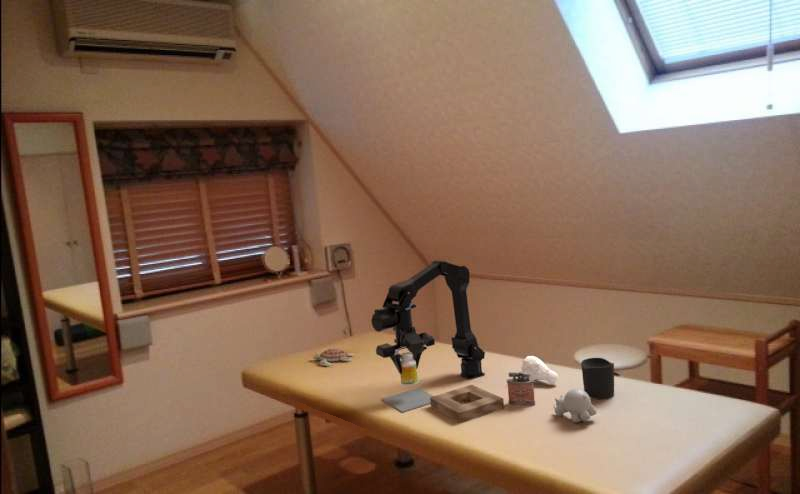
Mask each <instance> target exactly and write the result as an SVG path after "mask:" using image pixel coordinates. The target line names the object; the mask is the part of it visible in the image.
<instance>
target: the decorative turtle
mask: <svg viewBox="0 0 800 494" xmlns="http://www.w3.org/2000/svg"><path fill="white" fill-rule="evenodd" d="M349 356H355V353H354V352H347V351H345V350H343V349H339V348H328V349H326V350H323V351H322V352H321V353H315V354H314V355H313V357H312V358H313V359H314V360H315V361H319V364H320V365H321V366H325V367H326V366H331V365H332V363H331V362H339V361H346V362H348V361H351V360H352V358H351V357H349Z"/></svg>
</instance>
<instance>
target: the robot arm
mask: <svg viewBox="0 0 800 494" xmlns="http://www.w3.org/2000/svg"><path fill="white" fill-rule="evenodd" d="M439 276H442V277H444V280H445V284H446V285H447V287H448V288H449V290H450V291H451V297H452V303H453V304H452V305H453V312H454V319H455V320H454V321H455V330H456V333H455V335H454V336H452V337H451V338H450V339H451V342H452V346H451V348H452V349H453V351H454V353H455V354H456V357H457V358H459V359H460V361H461V363H460V370H461V372H460V373H459V375H460V376H461V377H465V378H466V379H468V380H472V379H476V378H478V377H483V376H485V374H486V373H485V372H483V367H482V360H484V359H485V354H486V352H485V351H484V350H483V349H482V348H481V347H480V346H479V344H478V343H479V342H478V339H477V336H475V334H474V333H473V331H472V328H471V319H470V313H469V312H470V311H469V301H468V295H467V294H468V293H467V289H468V287H469V285H470V270H469V268H468V267H467V266H465V265H459V264H458V265H457V264H452V263H450V262H448V261H445V260H440V259H439V260H438V259H435V260H433V261H431V263H430V264H429V265H427V266H426V267H425V268H423V269H421V270H420V271H418V272H417V273H416V274H414V275H412V276H411V277H410V278H408V279H406V280H402V281H398V282H396V283H393V284H392V285H391V286H389V288H388V293H387V294H386V297H385V299H384V301H383V304H382V308H376V309H374V313H372V317H371V320H370V322H371V324H372V328H373V329H374V331H375V332H377V333H378V332H379V333H380V332H384V331H386V330H390V329H392V330H393V331H394V333H395V339H393V340H394V341H393V342H394V343H395V344H394V345H393V344H389V343H383V344H378V345H377V346H376V348H375V352H376V355H377V356H379V357H381V358H383V359H388V358H390V360H391V362H393V364H394V367H395V368H396V370H397V372H398V374H402V368H401V354H400V353H399V351H401V350H404V349H407V351H408V352H410V353H413V359H414V360H415V361H416V368H417V369H418V368H419V364H420V360H421V356H422V354H423V352H424V351H425V350H427V349H428V347H431V346H435V345H436V341H435V337H434V336H433V335H431V334H428V333H427V332H420V333H417V331H416V328H415V326H414V325H413V316H412V315H413V314H412V309H414V308H416V307H417V305H416V304H415V303H413V302H412V301H413V300H414V299H415V297H417V294H418V292H419V291H420V290H421V289H423V287H426V286H427V285H428V284H430V283H431V282H433V281H434V280H436V278H438V277H439Z"/></svg>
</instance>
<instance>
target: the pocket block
mask: <svg viewBox="0 0 800 494" xmlns="http://www.w3.org/2000/svg"><path fill="white" fill-rule="evenodd" d="M466 402H467V403H466ZM504 402H505V401H504V398H503V397H501V396H499V395H496V394H494V393H492V392H489V391H487V390H486V389H483V388H481V387H479V386H476V385H474V384H469V385H466V386H463V387H460V388H457V389H453V390H450V391H446V392H443V393H440V394H436V395H433V397H430V403H431V404H430V407H431V408H432V409H433V410H436V411H437V412H439V413H441V414H442V415H445V416H447V417H448V418H450V419H452V420H454V421H456V422H457V423H459V424H461V423H465V422H467V421H471V420H473V419H474V420H475V419H476V418H480V417H482V416H485V415H488V414H491V413H494V412H497V411H499V410H502V409H504V408H505V403H504ZM463 403H465V404H463Z"/></svg>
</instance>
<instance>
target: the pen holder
mask: <svg viewBox="0 0 800 494" xmlns="http://www.w3.org/2000/svg"><path fill="white" fill-rule="evenodd" d="M580 365H581V374H582V382H583V391H585V392H586V393H587V394H588V395H589V397H591V398H590V399H594V398H596V400H604V399H603V398H607V399H610V398H612V397H613V396H614V395H615V363H614V362H612V361H611V362H610V361H609V360H607V359H605V358H604V357H589V358H586V359H585V358H584V359H583V360H582V361H581V364H580ZM611 396H612V397H611ZM609 397H610V398H609Z"/></svg>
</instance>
